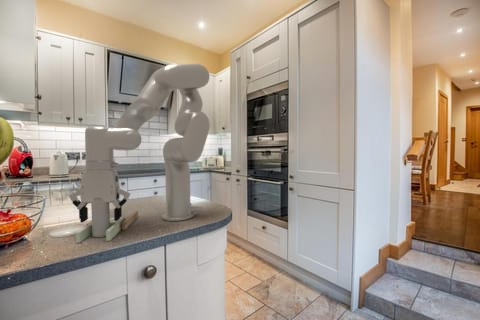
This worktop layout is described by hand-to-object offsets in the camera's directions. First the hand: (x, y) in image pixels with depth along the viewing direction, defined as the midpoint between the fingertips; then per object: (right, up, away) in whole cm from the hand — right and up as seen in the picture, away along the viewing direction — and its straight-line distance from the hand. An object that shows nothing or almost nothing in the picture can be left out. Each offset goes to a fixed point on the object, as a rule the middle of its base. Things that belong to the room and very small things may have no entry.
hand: (101, 220), depth 72 cm
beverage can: (0, -5, 0) cm, 5 cm away
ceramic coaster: (-12, -5, +2) cm, 13 cm away
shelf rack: (-2, -4, +11) cm, 12 cm away
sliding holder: (0, -5, +1) cm, 5 cm away
